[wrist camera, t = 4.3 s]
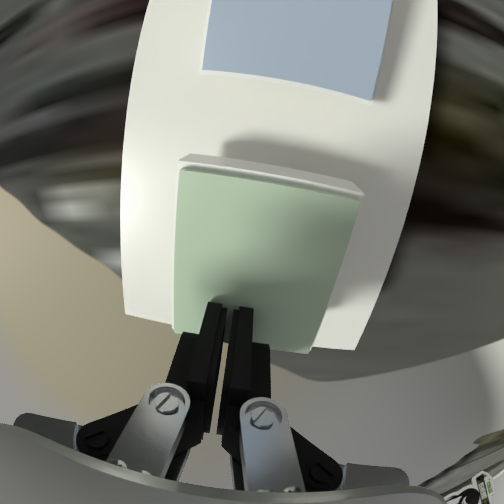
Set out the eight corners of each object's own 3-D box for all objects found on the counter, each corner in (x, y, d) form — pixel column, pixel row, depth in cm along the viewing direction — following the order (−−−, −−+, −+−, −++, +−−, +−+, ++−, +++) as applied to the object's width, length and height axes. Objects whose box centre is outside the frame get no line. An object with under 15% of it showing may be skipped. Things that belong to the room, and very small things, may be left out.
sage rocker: (351, 181, 10) (368, 196, 8) (307, 326, 13) (311, 357, 12) (190, 153, 10) (173, 162, 8) (181, 306, 13) (169, 335, 12)
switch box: (400, 7, 11) (444, -25, 6) (338, 302, 20) (357, 360, 14) (191, -31, 11) (164, -77, 6) (150, 271, 20) (114, 322, 14)
